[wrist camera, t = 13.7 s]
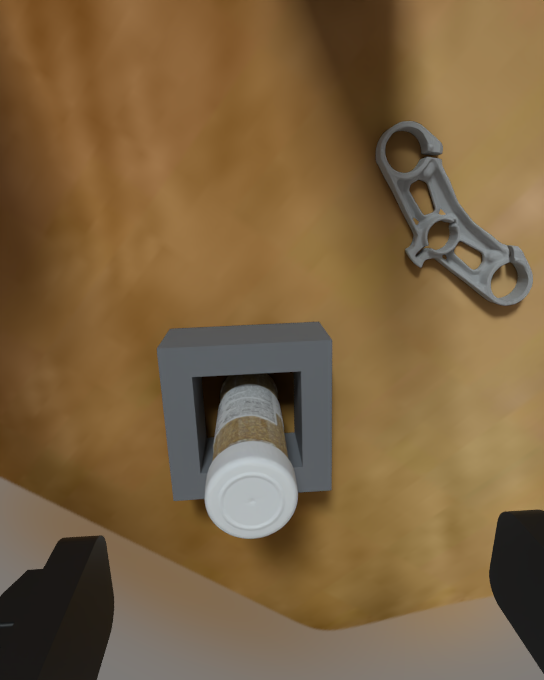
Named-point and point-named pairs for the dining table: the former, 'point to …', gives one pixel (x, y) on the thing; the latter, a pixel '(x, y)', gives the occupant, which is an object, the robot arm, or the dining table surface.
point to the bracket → (455, 215)
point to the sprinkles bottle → (250, 461)
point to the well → (235, 359)
